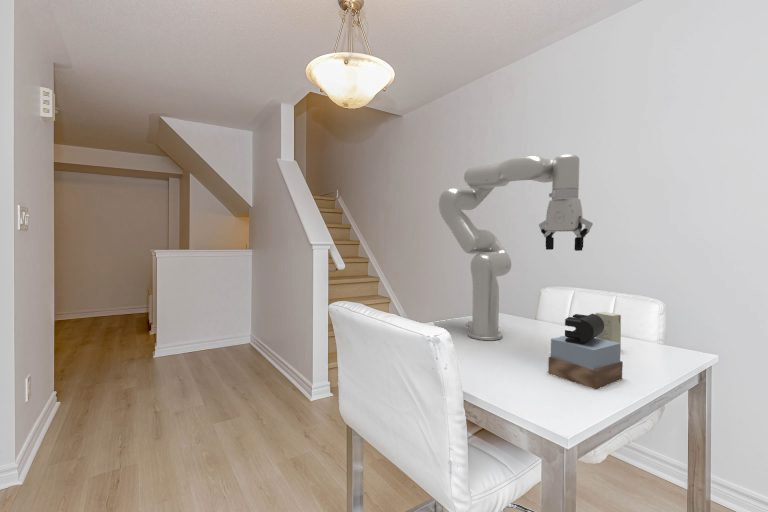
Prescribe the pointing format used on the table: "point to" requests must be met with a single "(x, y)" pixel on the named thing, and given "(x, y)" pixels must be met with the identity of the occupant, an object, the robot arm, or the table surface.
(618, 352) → the slate top block
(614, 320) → the skincare box
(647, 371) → the table surface
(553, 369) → the walnut base block
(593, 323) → the end cap
